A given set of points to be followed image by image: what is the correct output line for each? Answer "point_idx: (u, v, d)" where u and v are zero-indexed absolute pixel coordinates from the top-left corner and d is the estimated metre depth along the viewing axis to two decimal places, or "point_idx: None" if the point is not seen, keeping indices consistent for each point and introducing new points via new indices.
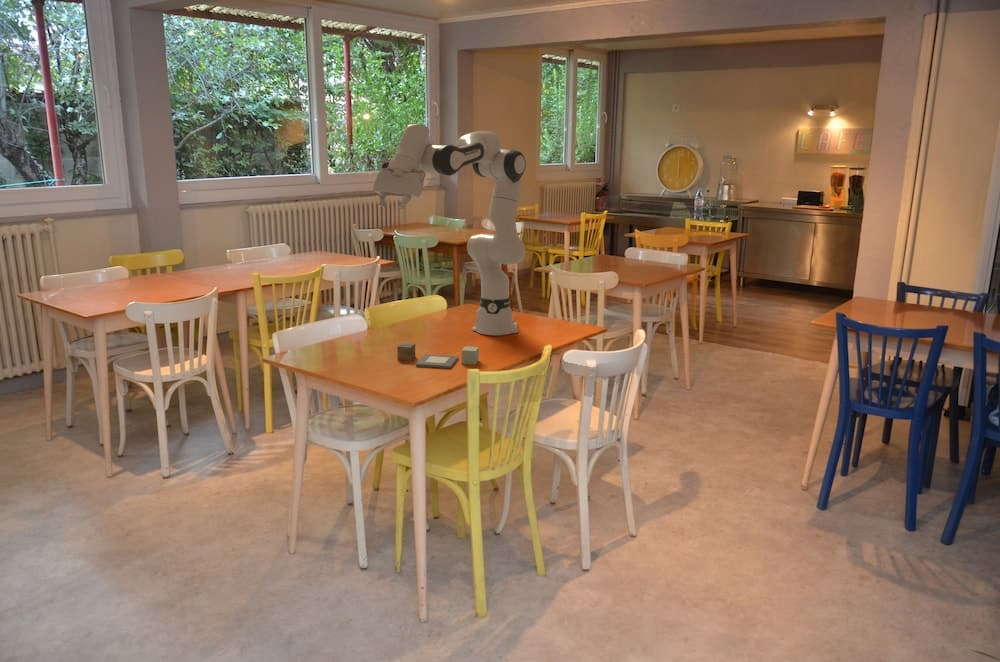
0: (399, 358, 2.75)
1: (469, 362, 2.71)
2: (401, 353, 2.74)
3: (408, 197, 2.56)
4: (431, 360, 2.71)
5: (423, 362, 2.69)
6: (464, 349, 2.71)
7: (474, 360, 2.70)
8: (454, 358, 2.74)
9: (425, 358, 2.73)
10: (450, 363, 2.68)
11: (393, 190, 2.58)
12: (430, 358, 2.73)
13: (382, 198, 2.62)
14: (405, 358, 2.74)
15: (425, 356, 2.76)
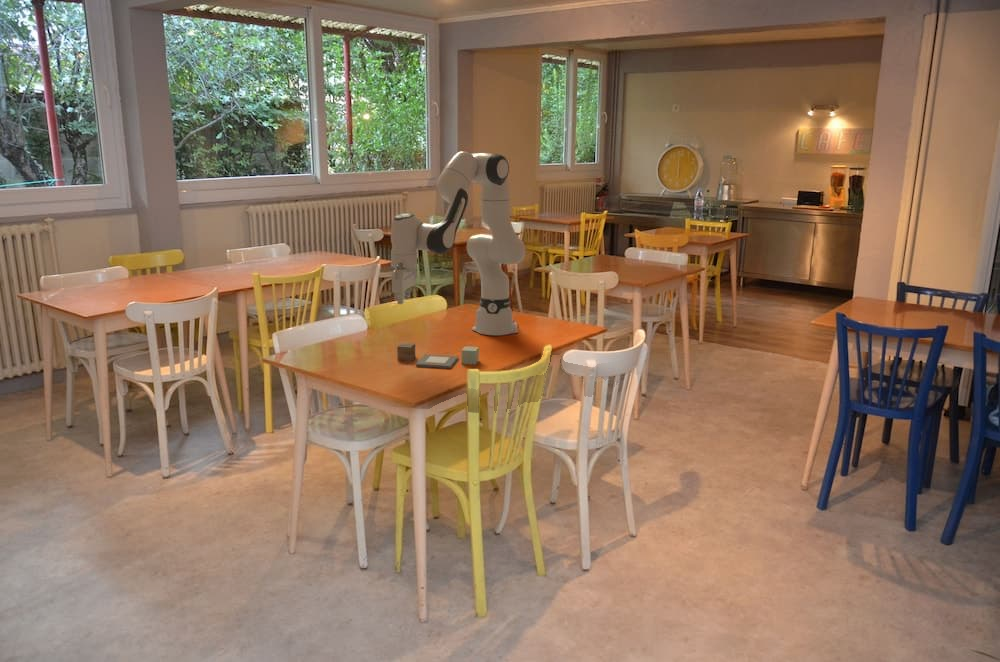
0: (399, 358, 2.75)
1: (469, 362, 2.71)
2: (401, 353, 2.74)
3: (399, 293, 2.64)
4: (431, 360, 2.71)
5: (423, 362, 2.69)
6: (464, 349, 2.71)
7: (474, 360, 2.70)
8: (454, 358, 2.74)
9: (425, 358, 2.73)
10: (450, 363, 2.68)
11: None
12: (430, 358, 2.73)
13: (407, 290, 2.76)
14: (405, 358, 2.74)
15: (425, 356, 2.76)
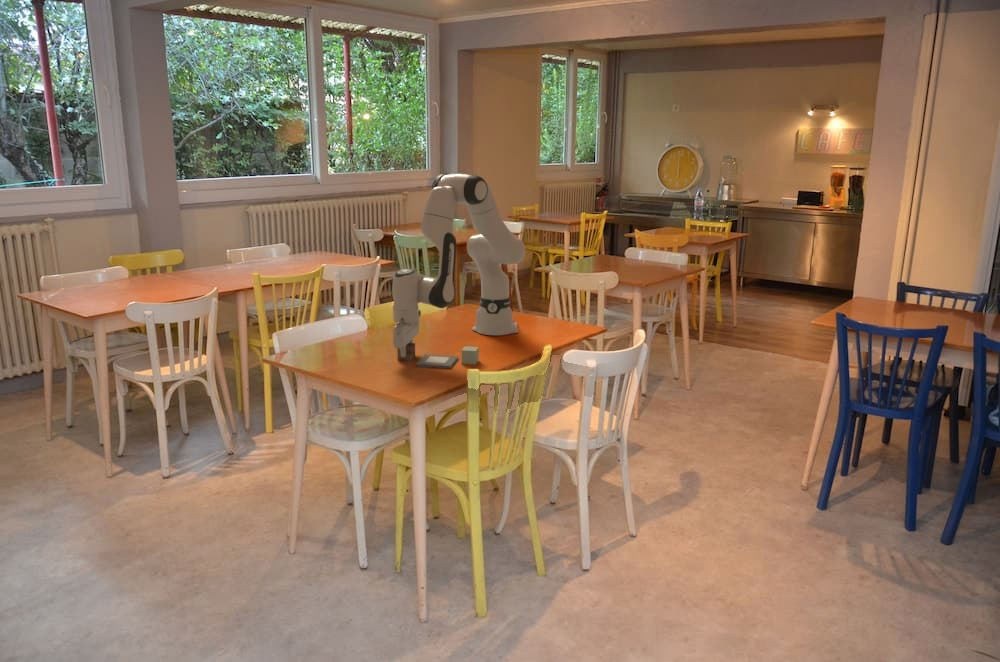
0: (399, 358, 2.75)
1: (469, 362, 2.71)
2: None
3: None
4: (431, 360, 2.71)
5: (423, 362, 2.69)
6: (464, 349, 2.71)
7: (474, 360, 2.70)
8: (454, 358, 2.74)
9: (425, 358, 2.73)
10: (450, 363, 2.68)
11: None
12: (430, 358, 2.73)
13: None
14: (405, 358, 2.74)
15: (425, 356, 2.76)
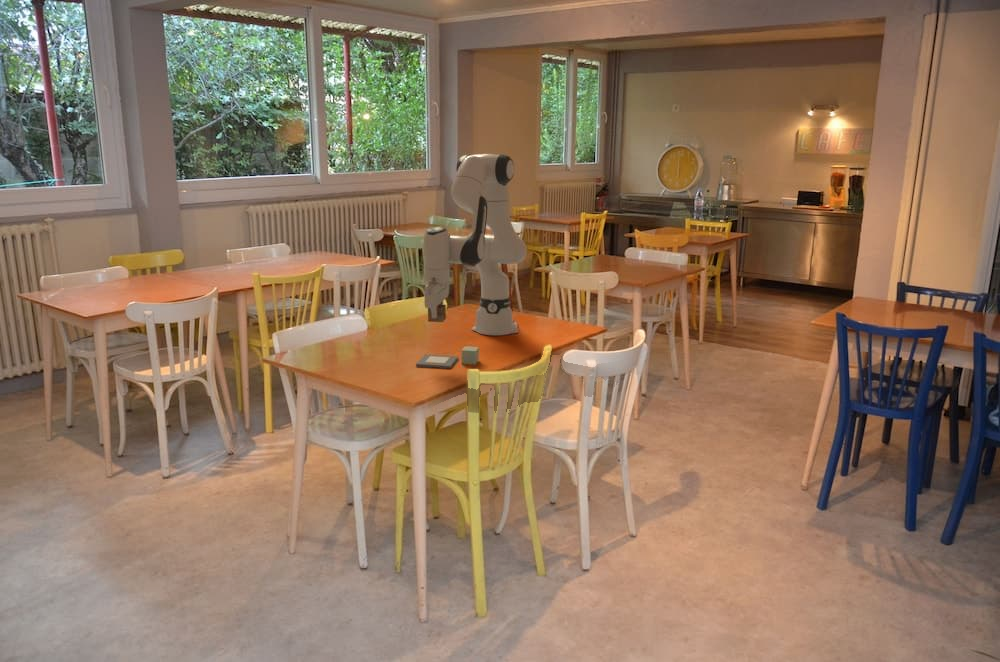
0: (429, 319, 2.66)
1: (469, 362, 2.71)
2: (431, 314, 2.65)
3: (433, 307, 2.62)
4: (431, 360, 2.71)
5: (423, 362, 2.69)
6: (464, 349, 2.71)
7: (474, 360, 2.70)
8: (454, 358, 2.74)
9: (425, 358, 2.73)
10: (450, 363, 2.68)
11: None
12: (430, 358, 2.73)
13: None
14: (436, 319, 2.66)
15: (425, 356, 2.76)
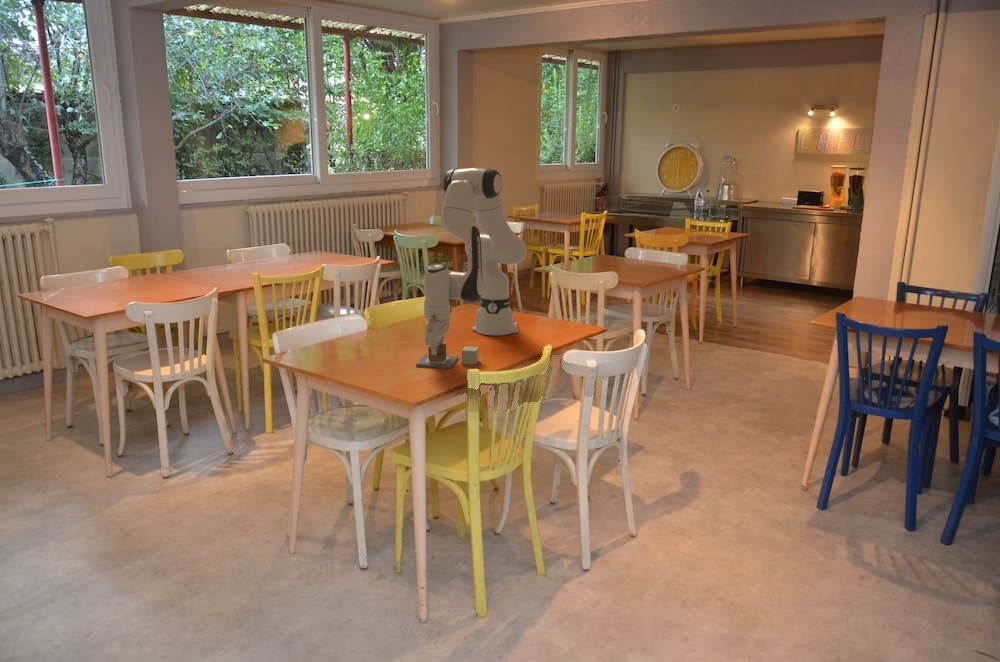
0: (430, 359, 2.70)
1: (469, 362, 2.71)
2: None
3: (433, 344, 2.65)
4: None
5: (423, 362, 2.69)
6: (464, 349, 2.71)
7: (474, 360, 2.70)
8: (454, 358, 2.74)
9: (425, 358, 2.73)
10: (450, 363, 2.68)
11: None
12: None
13: (440, 339, 2.75)
14: (436, 359, 2.69)
15: (425, 356, 2.76)
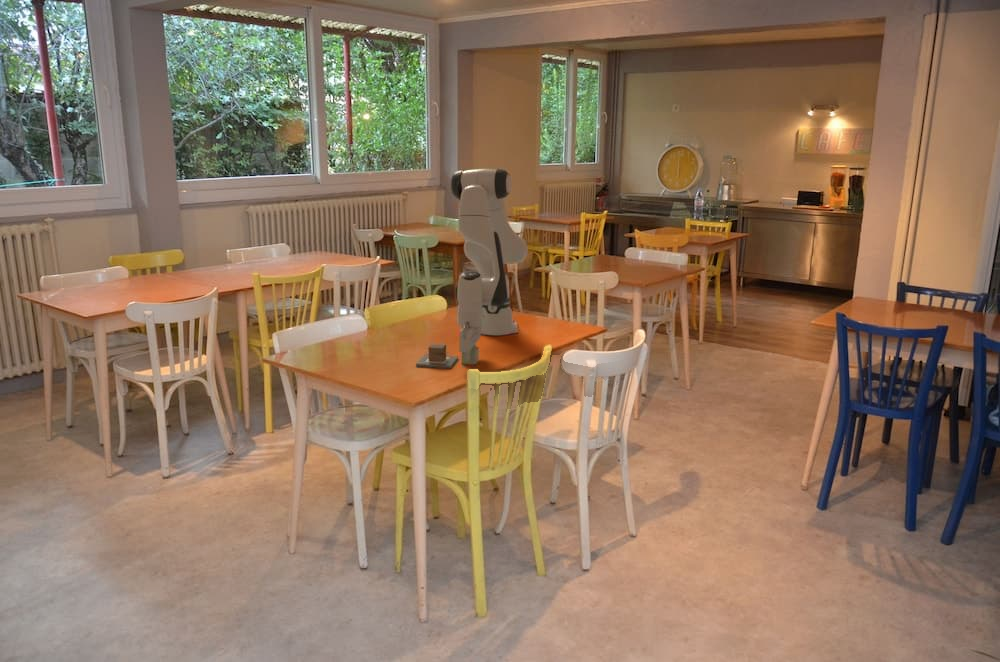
0: (430, 359, 2.70)
1: (469, 362, 2.71)
2: (432, 354, 2.69)
3: None
4: None
5: (423, 362, 2.69)
6: None
7: (474, 360, 2.70)
8: (454, 358, 2.74)
9: (425, 358, 2.73)
10: (450, 363, 2.68)
11: None
12: None
13: None
14: (436, 359, 2.69)
15: (425, 356, 2.76)
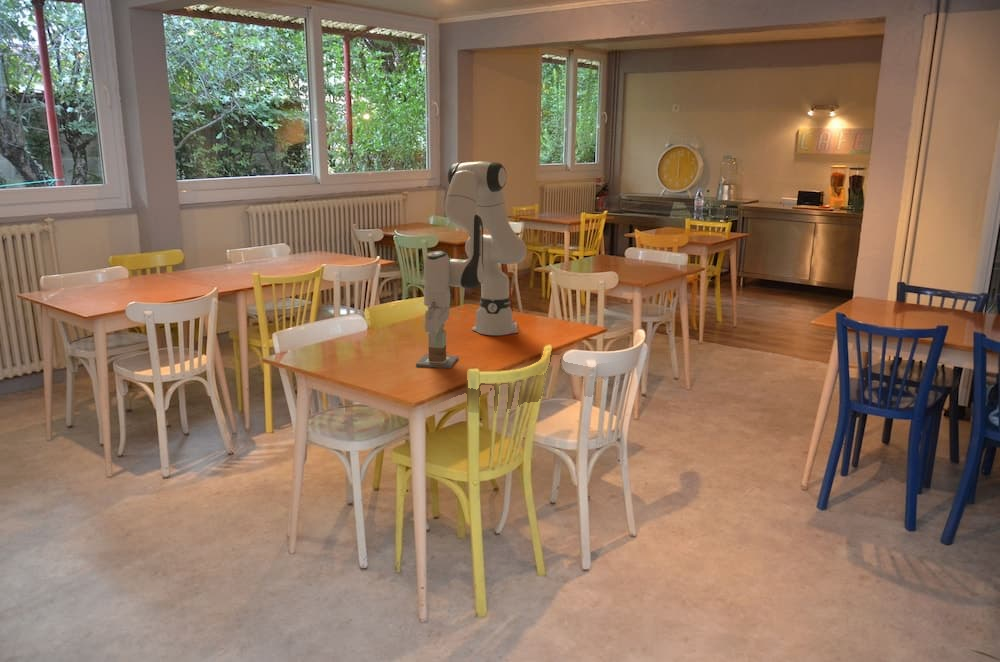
0: (430, 359, 2.70)
1: (436, 345, 2.68)
2: (432, 354, 2.69)
3: (432, 332, 2.63)
4: None
5: (423, 362, 2.69)
6: None
7: (441, 343, 2.68)
8: (454, 358, 2.74)
9: (425, 358, 2.73)
10: (450, 363, 2.68)
11: None
12: None
13: (440, 326, 2.74)
14: (436, 359, 2.69)
15: (425, 356, 2.76)
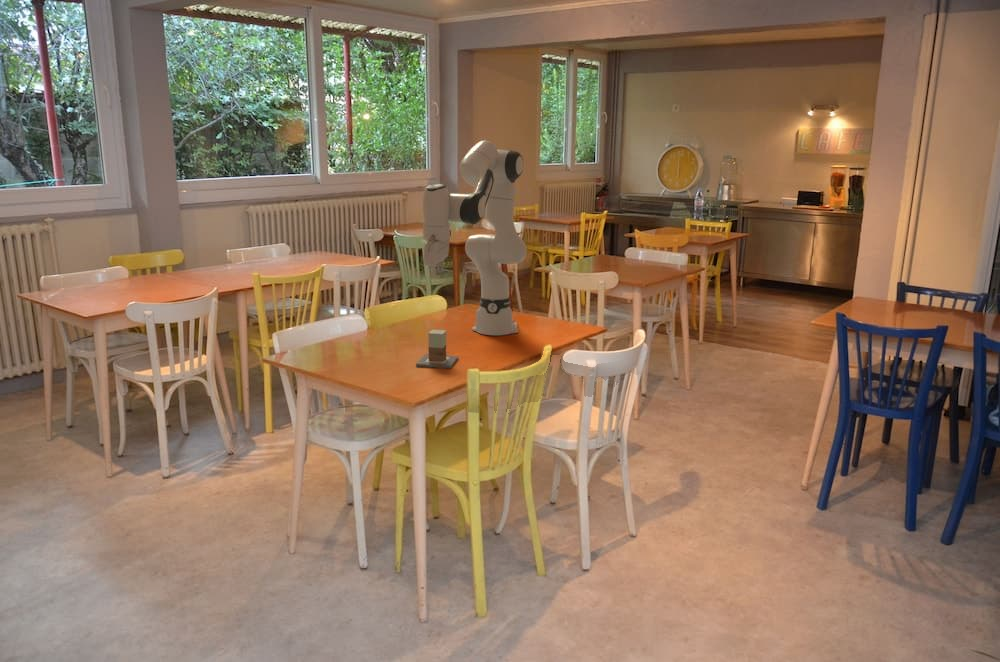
0: (430, 359, 2.70)
1: (436, 345, 2.68)
2: (432, 354, 2.69)
3: (432, 266, 2.57)
4: None
5: (423, 362, 2.69)
6: (431, 332, 2.68)
7: (441, 343, 2.68)
8: (454, 358, 2.74)
9: (425, 358, 2.73)
10: (450, 363, 2.68)
11: None
12: None
13: (440, 263, 2.69)
14: (436, 359, 2.69)
15: (425, 356, 2.76)
